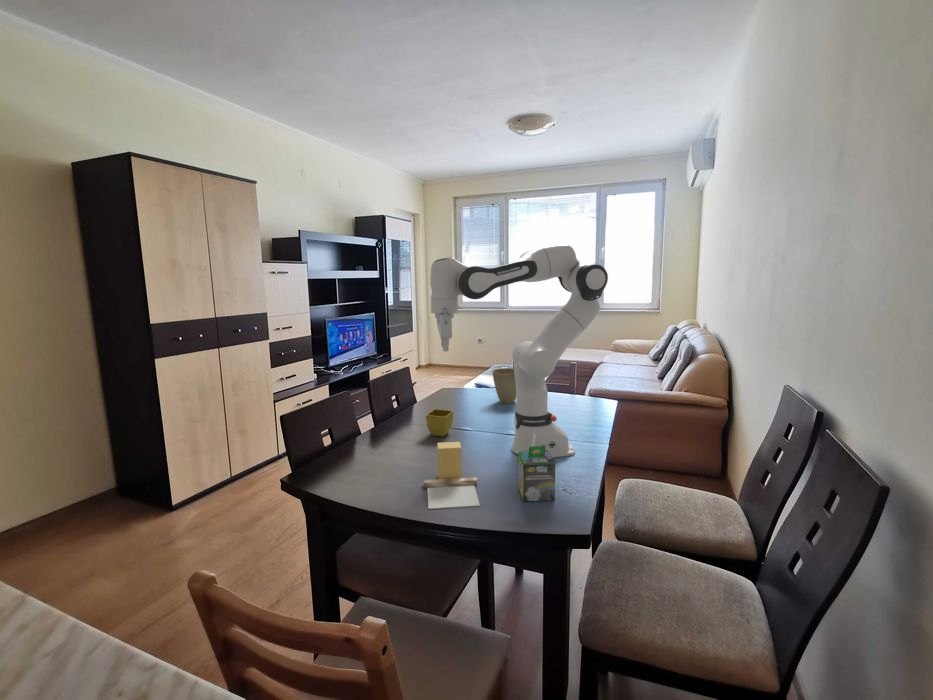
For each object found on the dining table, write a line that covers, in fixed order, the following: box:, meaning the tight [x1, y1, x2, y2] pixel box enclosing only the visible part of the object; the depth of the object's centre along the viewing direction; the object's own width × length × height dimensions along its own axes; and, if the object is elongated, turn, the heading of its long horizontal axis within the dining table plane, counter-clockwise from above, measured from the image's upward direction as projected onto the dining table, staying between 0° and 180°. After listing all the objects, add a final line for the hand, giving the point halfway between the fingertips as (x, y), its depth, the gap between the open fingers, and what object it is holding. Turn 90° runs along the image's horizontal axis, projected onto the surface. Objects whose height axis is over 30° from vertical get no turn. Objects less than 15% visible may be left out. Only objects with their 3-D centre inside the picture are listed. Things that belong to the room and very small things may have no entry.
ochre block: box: [437, 441, 463, 479], centre depth 137 cm, size 7×5×11 cm
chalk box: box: [517, 446, 556, 502], centre depth 127 cm, size 9×9×15 cm
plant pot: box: [491, 367, 516, 405], centre depth 224 cm, size 15×15×16 cm
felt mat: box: [426, 485, 481, 510], centre depth 126 cm, size 14×12×1 cm
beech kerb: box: [423, 476, 478, 489], centre depth 134 cm, size 16×2×2 cm, turn 96°
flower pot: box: [425, 408, 454, 437], centre depth 178 cm, size 9×9×9 cm
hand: (444, 349), depth 149 cm, fingers open, 8 cm apart
